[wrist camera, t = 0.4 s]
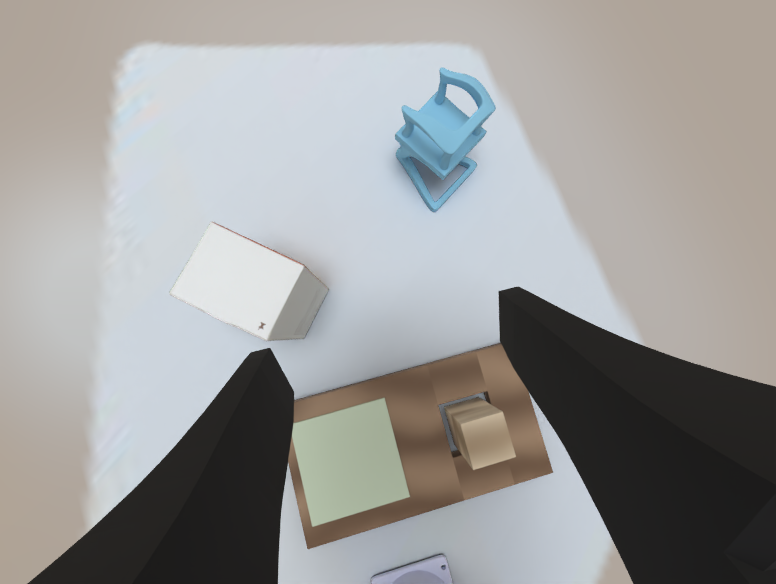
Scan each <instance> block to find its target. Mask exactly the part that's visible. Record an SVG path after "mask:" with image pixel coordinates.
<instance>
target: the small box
mask: <svg viewBox="0 0 776 584" xmlns="http://www.w3.org/2000/svg"><path fill="white" fill-rule="evenodd" d="M328 290H329V289H328V288H327V287H326V286H325V285H324V284H323V283H322V282H321V281H320V280H319V279H318V278H317V277H316V276H314V275H313V274H312V273H311V272H310V271H309V270H308V269H307V268H306V267H305V265H303V264H301V263H299V262H297V261H295V260H293V259H291V258H289V257H287V256H285V255H282V254H280V253H278V252H276V251H274V250H272V249H270V248H268V247H265V246H263V245H261V244H259V243H257V242H255V241H253V240H251V239H248V238H246V237H244V236H242V235H240V234H238V233H235V232H233V231H231V230H229V229H227V228H225V227H223V226H221V225H218V224H216V223H214V222H211V223H210V224H209V226H208V228H207V229H206V231H205V233H204V235H203V236H202V238H201V240H200V242H199V243H198V245H197V247H196V249H195V250H194V252H193V254H192V255H191V257H190V259H189V260H188V262H187V264H186V265H185V267H184V269H183V270H182V272H181V274H180V275H179V277H178V279H177V280H176V282H175V284H174V285H173V287H172V289H171V290H170V292H169V293H170V295H171V296H173V297H175V298H177V299H179V300H181V301H183V302H185V303H187V304H189V305H191V306H193V307H195V308H197V309H199V310H201V311H203V312H205V313H207V314H209V315H211V316H213V317H214V318H216V319H218V320H220V321H223V322H225V323H227V324H229V325H232V326H234V327H237V328H239V329H241V330H243V331H246V332H248V333H250V334H252V335H254V336H256V337H259V338H261V339H263V340H265V341H274V340H289V339H304V338H305V336H306V334H307V332H308V330H309V328H310V326H311V324H312V322H313V320H314V318H315V316H316V314H317V312H318V310H319V308H320V306H321V304H322V302H323V300H324V298H325V296H326V294H327V292H328Z"/></svg>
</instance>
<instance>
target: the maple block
mask: <svg viewBox="0 0 776 584" xmlns="http://www.w3.org/2000/svg"><path fill="white" fill-rule="evenodd" d="M444 409H445V413H446V417H447V420H448V424H449V428H450V431H451V435H452V438H453V442H454V444H455V446H456V447H457V449H458V450H459V451H460V453H461V454H462V455H463V457H464V458H465V459H466V461H467V462H468V464H469V465H470V466H471V468H472V469H473V470H475V469H479V468H482V467H485V466H488V465H492V464H495V463H498V462H501V461H505V460H508V459H511V458H514V457H516V455H515V451H514V448H513V445H512V441H511V438H510V434H509V431H508V428H507V424H506V421H505V417H504V414H503V412H502V411H501V410H499V409H497V408H496V407H494V406H492V405H491V404H489V403H487V402H486V401H484V400H483V399H481V398H479V397H476V398H473V399H469V400H466V401H462V402H459V403H456V404H452V405H449V406H445V407H444Z"/></svg>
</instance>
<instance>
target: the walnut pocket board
mask: <svg viewBox="0 0 776 584" xmlns="http://www.w3.org/2000/svg"><path fill="white" fill-rule="evenodd" d="M481 392H484V394H485V398H486V401H487V403H489V404H491V405H492V406H494V407H496V408H497V409H499V410H501V411H502V412H503V414H504V417H505V421H506V424H507V428H508V431H509V434H510V438H511V441H512V445H513V448H514V451H515V455H516V457H514V458H511V459H508V460H505V461H501V462H498V463H495V464H492V465H488V466H485V467H482V468H479V469H475V470H473V469H472V468H471V466H470V465H469V464H468V462H467V461H466V459H465V458H464V457H463V455H462V454H461V453H460V451H459V450H457V451H454V452H451V450H450V446H449V443H448V439H447V435H446V432H445V428H444V424H443V421H442V417H441V414H440V410H439V406H438V405H440V404H443V403H447V402H450V401H454V400H457V399H461V398H464V397H468V396H471V395H475V394H478V393H481ZM381 398H385V402H386V405H387V409H388V413H389V417H390V421H391V425H392V429H393V433H394V436H395V440H396V444H397V448H398V452H399V456H400V460H401V464H402V468H403V471H404V475H405V479H406V483H407V487H408V491H409V495H410V497H408V498H405V499H401V500H398V501H395V502H392V503H388V504H385V505H382V506H379V507H375V508H372V509H369V510H366V511H362V512H359V513H356V514H353V515H349V516H346V517H343V518H340V519H336V520H333V521H330V522H327V523H324V524H320V525H317V526H314V527H312V523H311V519H310V514H309V510H308V505H307V501H306V496H305V492H304V488H303V483H302V479H301V474H300V470H299V465H298V461H297V456H296V452H295V447H294V443H293V439H292V438H291V445H290V452H289V458H288V463H289V467H290V472H291V476H292V481H293V485H294V490H295V494H296V499H297V504H298V508H299V513H300V517H301V522H302V526H303V531H304V535H305V540H306V544H307V549H310V548H313V547H317V546H320V545H323V544H326V543H329V542H333V541H336V540H339V539H342V538H345V537H349V536H352V535H355V534H358V533H361V532H365V531H368V530H371V529H374V528H377V527H381V526H384V525H387V524H390V523H393V522H397V521H400V520H403V519H406V518H409V517H413V516H416V515H419V514H422V513H425V512H429V511H432V510H435V509H438V508H441V507H445V506H448V505H451V504H454V503H457V502H460V501H464V500H467V499H470V498H473V497H476V496H480V495H483V494H486V493H489V492H492V491H496V490H499V489H502V488H505V487H508V486H512V485H515V484H518V483H521V482H524V481H528V480H531V479H534V478H537V477H540V476H544V475H547V474H550V473H553V471H552V467H551V464H550V461H549V458H548V454H547V451H546V448H545V445H544V441H543V438H542V435H541V431H540V428H539V425H538V422H537V418H536V415H535V412H534V408H533V405H532V402H531V399H530V395H529V392H528V390H527V388H526V387H525V385H524V384H523V382H522V381H521V379H520V378H519V376H518V375H517V373H516V371H515V370H514V368H513V366H512V364H511V362H510V360H509V359H508V357H507V354H506V352H505V350H504V348H503V346H502V344H501V343H499V344H495V345H491V346H488V347H484V348H481V349H477V350H473V351H470V352H466V353H463V354H459V355H455V356H452V357H448V358H445V359H441V360H437V361H434V362H430V363H427V364H423V365H419V366H416V367H412V368H409V369H405V370H401V371H398V372H394V373H391V374H387V375H384V376H380V377H376V378H373V379H369V380H366V381H362V382H358V383H355V384H351V385H348V386H344V387H340V388H337V389H333V390H330V391H326V392H322V393H319V394H315V395H312V396H308V397H304V398H301V399H297V400H294V423H296V422H299V421H303V420H306V419H310V418H314V417H317V416H321V415H324V414H328V413H331V412H335V411H338V410H342V409H345V408H349V407H352V406H356V405H359V404H363V403H366V402H370V401H374V400H377V399H381Z"/></svg>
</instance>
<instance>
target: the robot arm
mask: <svg viewBox="0 0 776 584" xmlns="http://www.w3.org/2000/svg"><path fill="white" fill-rule="evenodd" d="M499 322H500V342H501V344H502V346H503V348H504V350H505V352H506V354H507V357H508V359H509V360H510V362H511V364H512V366H513V368H514V370H515V371H516V373H517V375H518V376H519V378H520V379H521V381H522V382H523V384H524V385H525V387H526V388H527V390H528V391H529V393H530V394H531V396H532V397H533V399H534V400H535V402H536V403H537V405H538V406H539V408H540V409H541V411H542V412H543V414H544V415H545V417H546V418H547V420H548V421H549V423H550V424H551V426H552V427H553V429H554V430H555V432H556V433H557V435H558V437H559V438H560V440H561V442H562V443H563V445H564V447H565V448H566V450H567V452H568V454H569V456H570V458H571V460H572V462H573V463H574V465H575V467H576V469H577V471H578V473H579V475H580V476H581V478H582V480H583V482H584V484H585V486H586V488H587V490H588V492H589V494H590V496H591V498H592V500H593V502H594V503H595V505H596V507H597V509H598V511H599V513H600V515H601V517H602V519H603V521H604V523H605V525H606V527H607V529H608V531H609V534H610V536H611V538H612V540H613V542H614V544H615V546H616V548H617V550H618V552H619V554H620V556H621V558H622V560H623V562H624V564H625V567H626V569H627V571H628V573H629V575H630V577H631V579H632V581H633V584H776V387H775V386H771V385H767V384H763V383H759V382H756V381H752V380H748V379H744V378H741V377H737V376H733V375H730V374H727V373H723V372H720V371H717V370H713V369H710V368H707V367H704V366H701V365H697V364H694V363H691V362H688V361H685V360H682V359H679V358H676V357H673V356H670V355H667V354H665V353H662V352H659V351H656V350H654V349H651V348H648V347H645V346H643V345H640V344H638V343H635V342H633V341H630V340H628V339H625V338H623V337H620V336H618V335H616V334H614V333H611V332H609V331H607V330H604V329H602V328H600V327H598V326H595V325H593V324H591V323H589V322H587V321H585V320H583V319H581V318H579V317H577V316H575V315H573V314H571V313H569V312H567V311H565V310H563V309H561V308H559V307H557V306H555V305H553V304H551V303H549V302H547V301H545V300H544V299H542V298H540V297H538V296H536V295H534V294H532V293H530V292H528V291H526V290H524V289H522V288H520V287H514V288H510V289H506V290H502V291H499ZM293 423H294V391H293V389H292V387H291V385H290V384H289V382H288V380H287V378H286V376H285V374H284V373H283V371H282V369H281V367H280V365H279V363H278V362H277V360H276V358H275V356H274V354H273V352H272V351H271V349H270V348H267V349H263V350H259V351H255V352H251V353H250V354H249V355H248V356H247V358H246V359H245V360H244V361H243V363H242V364H241V365H240V366H239V368H238V369H237V370H236V371H235V373H234V374H233V375H232V377H231V378H230V379H229V381H228V382H227V383H226V385H225V386H224V387H223V388H222V390H221V391H220V392H219V393H218V395H217V396H216V397H215V399H214V400H213V401H212V402H211V404H210V405H209V406H208V408H207V409H206V410H205V411H204V412H203V414H202V415H201V416H200V417H199V418H198V420H197V421H196V422H195V423H194V424H193V426H192V427H191V428H190V429H189V430H188V431H187V433H186V434H185V435H184V436H183V437H182V439H181V440H180V441H179V442H178V443H177V444H176V446H175V447H174V448H173V449H172V450H171V451H170V452H169V453H168V454H167V455H166V457H165V458H164V459H163V460H162V461H161V462H160V463H159V464H158V465H157V466H156V467H155V468H154V469H153V470H152V471H151V472H150V473H149V474H148V475H147V476H146V477H145V478H144V480H143V481H142V482H141V483H140V484H139V485H138V486H137V487H136V488H135V489H134V490H133V491H132V492H130V493H129V494H128V495H127V496H126V497H125V498H124V499H123V500H122V501H121V502H120V503H119V504H118V505H117V506H116V507H114V508H113V509H112V510H111V511H110V512H109V513H108V514H107V515H106V516H105V517H104V518H103V519H102V520H101V521H100V522H98V523H97V524H96V525H95V526H94V527H93V528H92V529H91V530H90V531H89V532H88V533H86V534H85V535H84V536H83V537H82V538H81V539H80V540H78V541H77V542H76V543H75V544H74V545H73V546H72V547H70V548H69V549H68V550H67V551H66V552H65V553H64V554H62V555H61V556H60V557H59V558H58V559H57V560H55V561H54V562H53V563H52V564H51V565H49V566H48V567H47V568H46V569H45V570H43V571H42V572H41V573H40V574H39V575H37V576H36V577H35V578H34V579H33V580H32V581H30V582H29V583H28V584H278V557H279V537H280V518H281V508H282V499H283V492H284V485H285V478H286V472H287V465H288V458H289V452H290V445H291V438H292V431H293ZM442 565H445V567H441V566H442ZM371 584H453V582H452V578H451V574H450V571H449V567H448V563H447V559H446V557H445V556H444V555H438V556H435V557H432V558H429V559H426V560H423V561H420V562H416V563H413V564H410V565H407V566H404V567H401V568H398V569H395V570H392V571H389V572H386V573H382V574H379V575H376V576H374V577H372V579H371Z"/></svg>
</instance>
